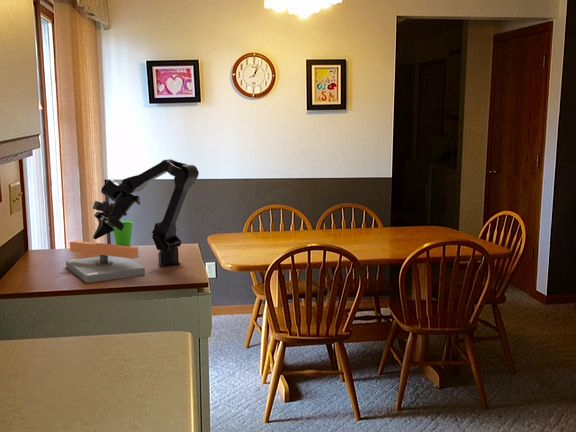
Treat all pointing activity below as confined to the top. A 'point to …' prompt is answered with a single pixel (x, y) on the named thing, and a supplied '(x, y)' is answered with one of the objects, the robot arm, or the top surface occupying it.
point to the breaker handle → (104, 250)
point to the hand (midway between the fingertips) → (94, 238)
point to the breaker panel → (104, 268)
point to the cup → (123, 234)
